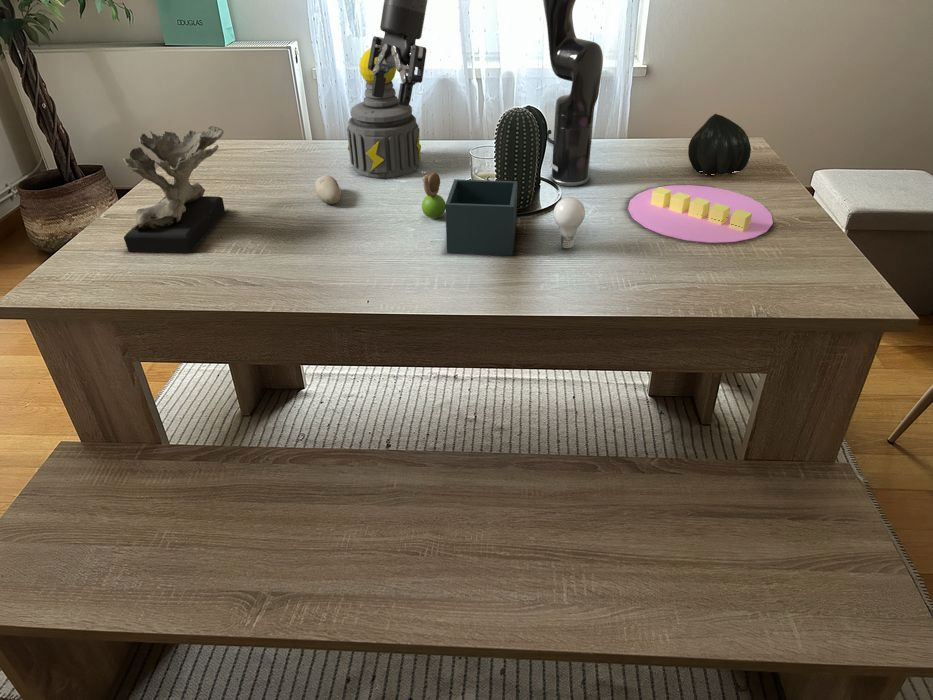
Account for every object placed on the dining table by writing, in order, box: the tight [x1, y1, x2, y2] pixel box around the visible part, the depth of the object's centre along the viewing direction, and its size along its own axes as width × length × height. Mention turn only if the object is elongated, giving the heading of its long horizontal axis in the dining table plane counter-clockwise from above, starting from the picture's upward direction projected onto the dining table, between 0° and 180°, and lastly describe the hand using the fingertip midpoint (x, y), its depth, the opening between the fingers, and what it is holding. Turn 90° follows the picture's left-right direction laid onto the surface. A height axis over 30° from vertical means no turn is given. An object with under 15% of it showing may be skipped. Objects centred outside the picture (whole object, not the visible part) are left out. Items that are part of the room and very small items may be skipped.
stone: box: [314, 174, 342, 205], centre depth 169 cm, size 6×6×12 cm
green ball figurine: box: [421, 170, 446, 219], centre depth 157 cm, size 5×6×12 cm
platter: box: [627, 184, 774, 244], centre depth 160 cm, size 32×32×3 cm
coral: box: [122, 125, 226, 254], centre depth 151 cm, size 25×20×22 cm
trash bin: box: [445, 178, 519, 257], centre depth 147 cm, size 14×14×11 cm
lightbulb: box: [552, 196, 586, 250], centre depth 144 cm, size 6×6×11 cm
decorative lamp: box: [346, 47, 422, 179], centre depth 179 cm, size 19×19×30 cm
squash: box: [687, 113, 752, 178], centre depth 178 cm, size 14×15×15 cm
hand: (389, 101), depth 131 cm, fingers open, 8 cm apart
